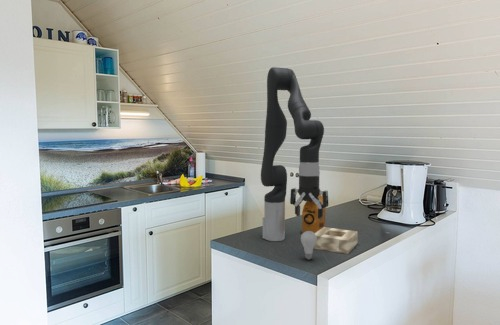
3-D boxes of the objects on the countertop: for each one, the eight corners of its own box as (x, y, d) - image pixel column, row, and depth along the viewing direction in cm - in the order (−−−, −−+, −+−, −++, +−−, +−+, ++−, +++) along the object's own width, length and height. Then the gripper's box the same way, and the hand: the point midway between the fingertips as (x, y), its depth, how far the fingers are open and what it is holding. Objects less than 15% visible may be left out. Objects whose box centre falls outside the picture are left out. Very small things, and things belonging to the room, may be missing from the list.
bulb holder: (311, 248, 152) (312, 235, 152) (323, 238, 165) (323, 226, 165) (347, 254, 145) (348, 240, 144) (357, 244, 158) (357, 231, 157)
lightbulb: (298, 261, 137) (299, 232, 136) (302, 255, 143) (302, 228, 142) (314, 263, 135) (315, 234, 134) (318, 257, 141) (318, 229, 140)
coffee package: (298, 234, 173) (298, 188, 171) (309, 228, 183) (310, 184, 181) (318, 237, 168) (318, 189, 166) (328, 231, 178) (329, 186, 176)
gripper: (287, 174, 136) (287, 217, 138) (324, 176, 129) (324, 221, 131) (295, 172, 143) (295, 213, 144) (330, 174, 136) (330, 217, 137)
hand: (308, 217), depth 137 cm, fingers open, 8 cm apart
